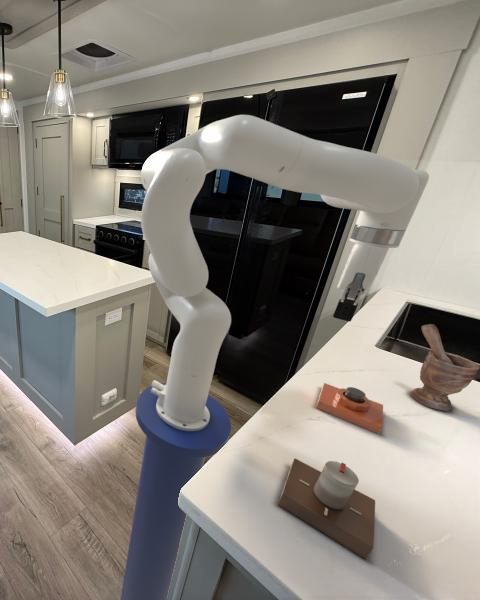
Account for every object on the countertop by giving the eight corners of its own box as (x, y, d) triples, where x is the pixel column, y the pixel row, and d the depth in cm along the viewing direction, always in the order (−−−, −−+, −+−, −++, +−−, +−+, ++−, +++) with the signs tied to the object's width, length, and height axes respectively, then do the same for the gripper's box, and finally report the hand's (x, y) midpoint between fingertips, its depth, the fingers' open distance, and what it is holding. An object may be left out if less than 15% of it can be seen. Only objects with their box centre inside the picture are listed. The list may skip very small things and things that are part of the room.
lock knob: (343, 515, 50) (358, 489, 48) (311, 496, 53) (323, 471, 51) (346, 496, 53) (360, 471, 51) (315, 479, 56) (328, 455, 54)
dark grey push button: (343, 398, 76) (346, 391, 75) (344, 391, 79) (347, 385, 78) (362, 405, 74) (365, 398, 73) (362, 398, 76) (366, 391, 76)
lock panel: (277, 504, 55) (282, 492, 54) (289, 468, 62) (294, 457, 60) (365, 559, 47) (374, 547, 46) (368, 511, 54) (375, 499, 53)
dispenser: (315, 407, 78) (321, 395, 76) (321, 389, 85) (326, 377, 83) (378, 434, 71) (386, 420, 69) (379, 411, 77) (386, 399, 76)
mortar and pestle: (391, 396, 83) (426, 331, 75) (390, 381, 89) (422, 319, 81) (455, 417, 76) (501, 348, 68) (448, 400, 82) (490, 334, 74)
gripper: (354, 229, 69) (325, 304, 76) (348, 238, 59) (316, 323, 66) (400, 234, 64) (365, 313, 71) (403, 245, 54) (361, 336, 61)
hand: (341, 318), depth 69 cm, fingers closed
